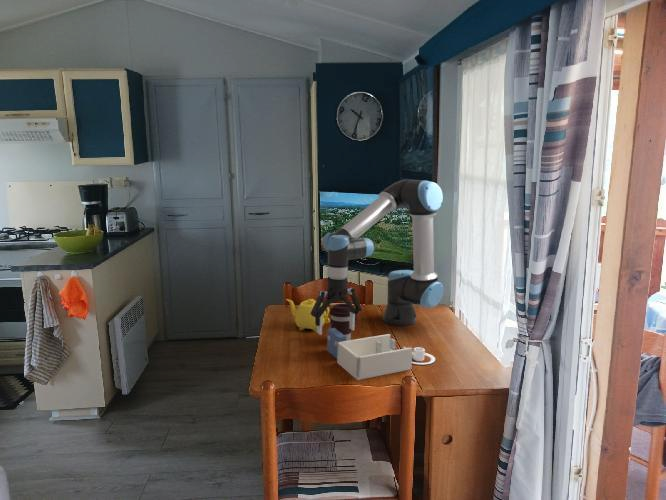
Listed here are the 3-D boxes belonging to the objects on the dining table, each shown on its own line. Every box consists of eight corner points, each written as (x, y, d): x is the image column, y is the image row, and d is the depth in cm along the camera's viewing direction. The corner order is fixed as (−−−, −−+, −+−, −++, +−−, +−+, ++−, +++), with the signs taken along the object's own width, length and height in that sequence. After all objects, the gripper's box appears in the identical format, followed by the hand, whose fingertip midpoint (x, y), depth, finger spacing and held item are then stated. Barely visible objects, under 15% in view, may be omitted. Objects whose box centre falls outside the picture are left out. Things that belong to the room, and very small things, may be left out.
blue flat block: (334, 349, 215) (334, 327, 213) (345, 359, 206) (346, 336, 204) (326, 351, 213) (326, 329, 212) (337, 360, 205) (338, 337, 203)
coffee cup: (351, 346, 218) (351, 310, 215) (326, 344, 220) (327, 308, 217) (355, 337, 228) (356, 303, 225) (331, 336, 229) (332, 301, 226)
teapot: (325, 334, 231) (325, 305, 228) (280, 329, 236) (280, 301, 233) (334, 324, 244) (334, 296, 241) (291, 319, 249) (291, 292, 246)
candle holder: (420, 351, 215) (421, 341, 214) (441, 362, 205) (442, 351, 204) (396, 357, 209) (397, 346, 208) (417, 368, 199) (418, 357, 198)
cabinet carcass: (388, 353, 212) (389, 333, 210) (411, 369, 197) (412, 348, 196) (337, 362, 202) (337, 342, 201) (357, 380, 188) (357, 358, 187)
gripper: (362, 272, 212) (360, 324, 216) (302, 277, 202) (301, 332, 206) (371, 276, 206) (369, 330, 210) (310, 282, 195) (309, 338, 199)
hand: (335, 331), depth 208 cm, fingers open, 13 cm apart
